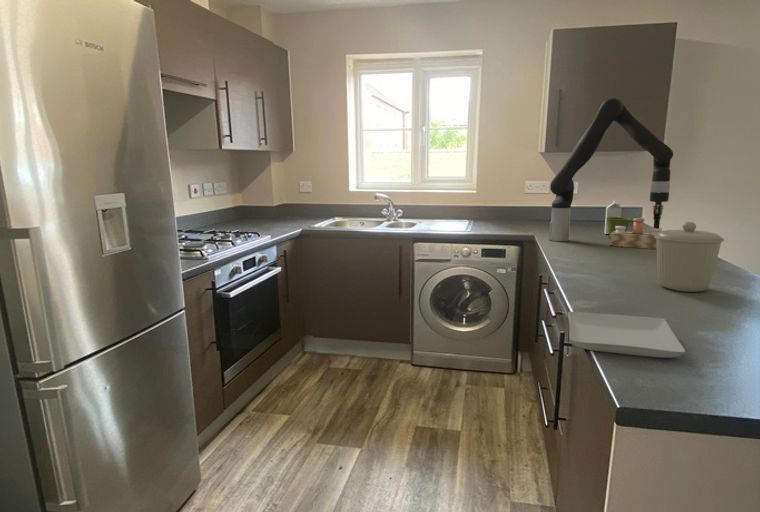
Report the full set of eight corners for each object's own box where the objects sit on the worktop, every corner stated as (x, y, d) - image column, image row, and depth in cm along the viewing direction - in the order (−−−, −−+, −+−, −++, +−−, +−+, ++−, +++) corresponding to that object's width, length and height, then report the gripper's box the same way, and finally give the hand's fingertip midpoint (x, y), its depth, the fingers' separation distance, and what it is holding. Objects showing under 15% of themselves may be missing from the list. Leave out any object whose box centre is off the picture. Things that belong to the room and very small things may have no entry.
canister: (720, 299, 133) (729, 226, 129) (648, 291, 142) (654, 223, 138) (715, 285, 148) (723, 220, 144) (650, 279, 157) (656, 217, 153)
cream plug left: (613, 243, 225) (614, 226, 223) (614, 242, 228) (616, 225, 227) (623, 244, 222) (625, 227, 221) (625, 242, 226) (626, 226, 224)
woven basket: (609, 245, 223) (610, 233, 222) (612, 242, 231) (613, 231, 230) (662, 249, 211) (663, 236, 210) (663, 246, 219) (664, 233, 218)
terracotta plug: (631, 236, 220) (632, 219, 218) (632, 234, 223) (633, 218, 222) (642, 236, 217) (643, 219, 216) (643, 235, 221) (644, 218, 219)
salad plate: (568, 354, 97) (569, 338, 96) (566, 322, 116) (567, 309, 115) (686, 368, 89) (688, 351, 89) (662, 331, 109) (664, 317, 108)
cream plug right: (648, 245, 216) (650, 228, 215) (649, 244, 220) (650, 227, 218) (659, 246, 214) (661, 229, 212) (660, 245, 217) (662, 228, 216)
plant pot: (603, 240, 239) (605, 218, 237) (604, 237, 250) (606, 216, 248) (629, 241, 234) (631, 219, 232) (629, 238, 244) (631, 217, 242)
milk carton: (605, 235, 257) (607, 201, 254) (604, 233, 264) (606, 200, 260) (619, 235, 255) (622, 201, 251) (618, 233, 261) (620, 200, 258)
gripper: (651, 190, 219) (648, 226, 223) (649, 191, 209) (645, 229, 212) (670, 190, 215) (666, 227, 218) (668, 192, 205) (664, 230, 208)
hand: (656, 228), depth 215 cm, fingers closed
